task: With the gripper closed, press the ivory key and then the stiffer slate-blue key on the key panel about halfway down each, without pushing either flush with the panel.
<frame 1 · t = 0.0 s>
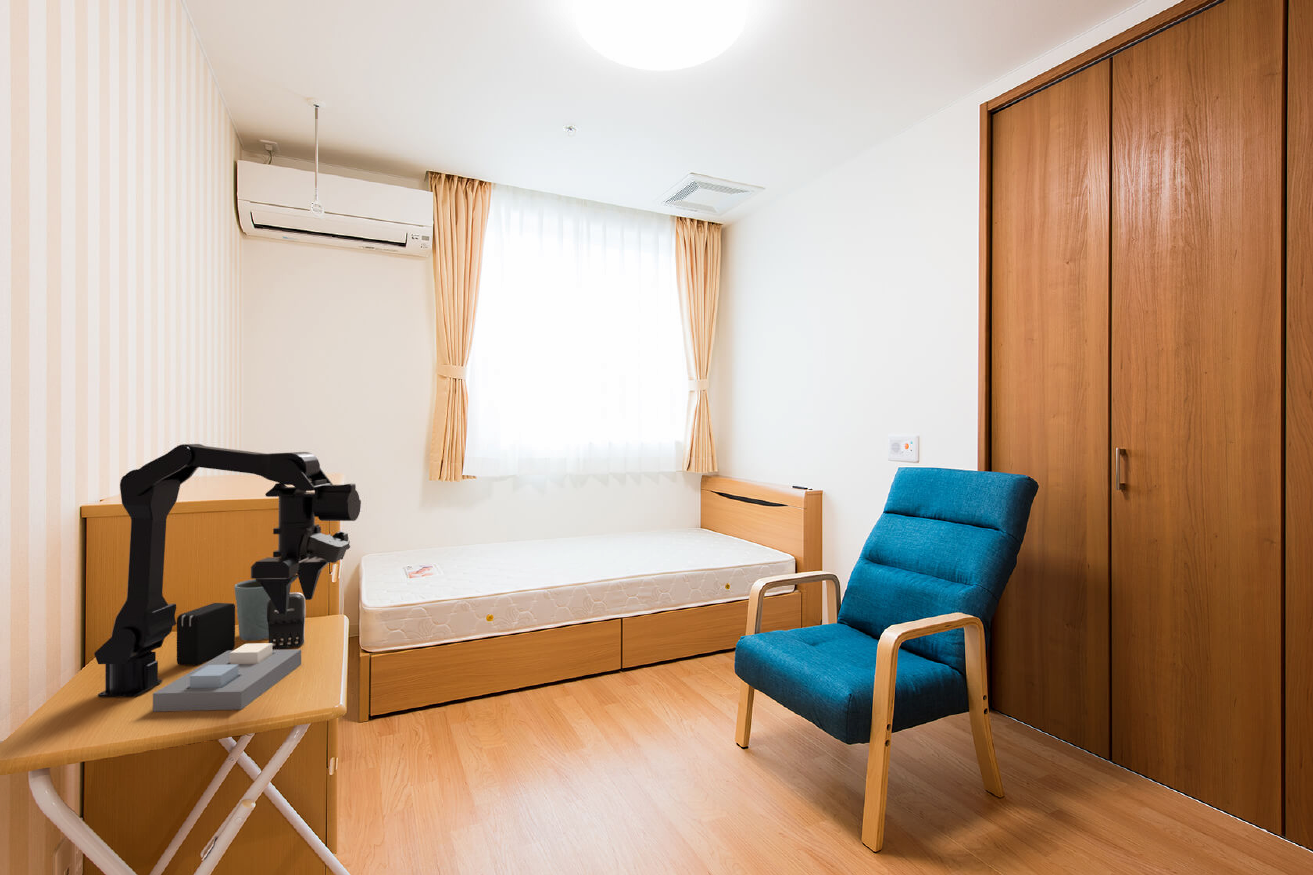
hand: (296, 606, 112), 15 cm above the table, tool pointing down, fingers open, 9 cm apart
battery charger: (285, 648, 132), on the table
electronic device: (206, 658, 126), on the table
key panel: (234, 685, 112), on the table
ivory key: (251, 653, 117), point 4 cm above the table, slide at 0.0 cm
slate key: (214, 676, 106), point 4 cm above the table, slide at 0.0 cm
teal cup: (260, 635, 140), on the table
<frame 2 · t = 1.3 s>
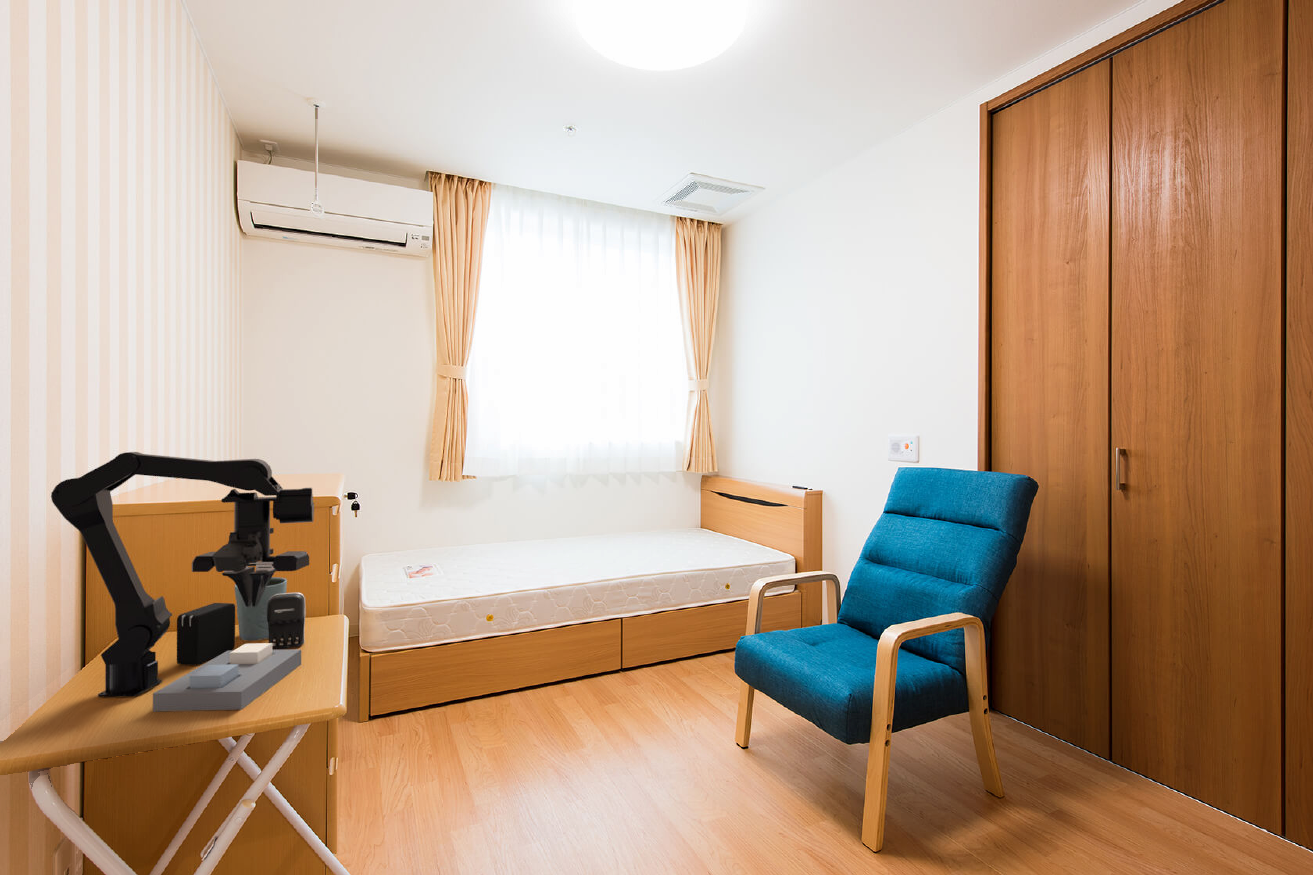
hand: (251, 606, 117), 13 cm above the table, tool pointing down, fingers closed
nothing on the table moved.
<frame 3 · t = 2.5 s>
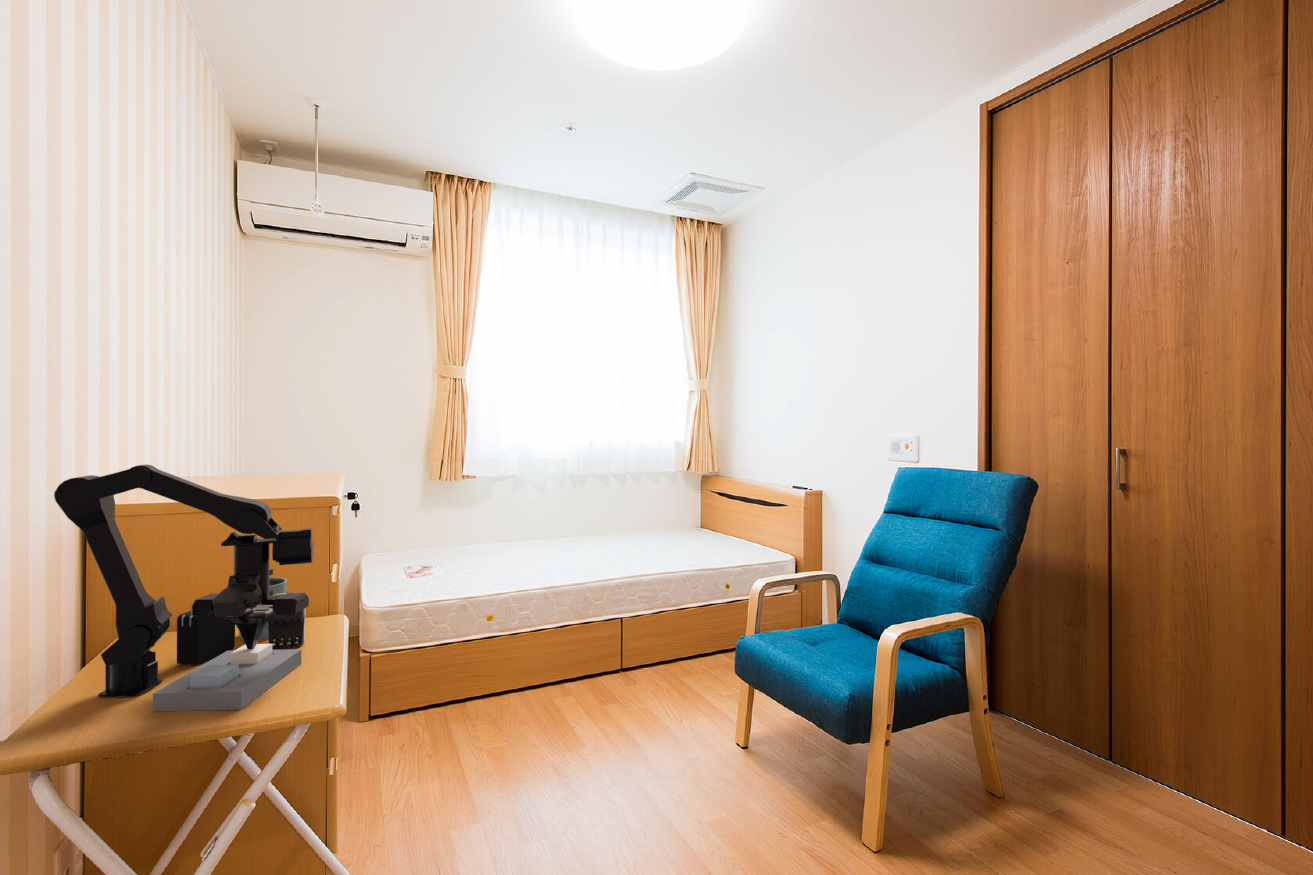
hand: (251, 648, 117), 5 cm above the table, tool pointing down, fingers closed, pressing on ivory key
ivory key: (251, 654, 117), point 4 cm above the table, slide at 0.1 cm, touching gripper
everything else where it was.
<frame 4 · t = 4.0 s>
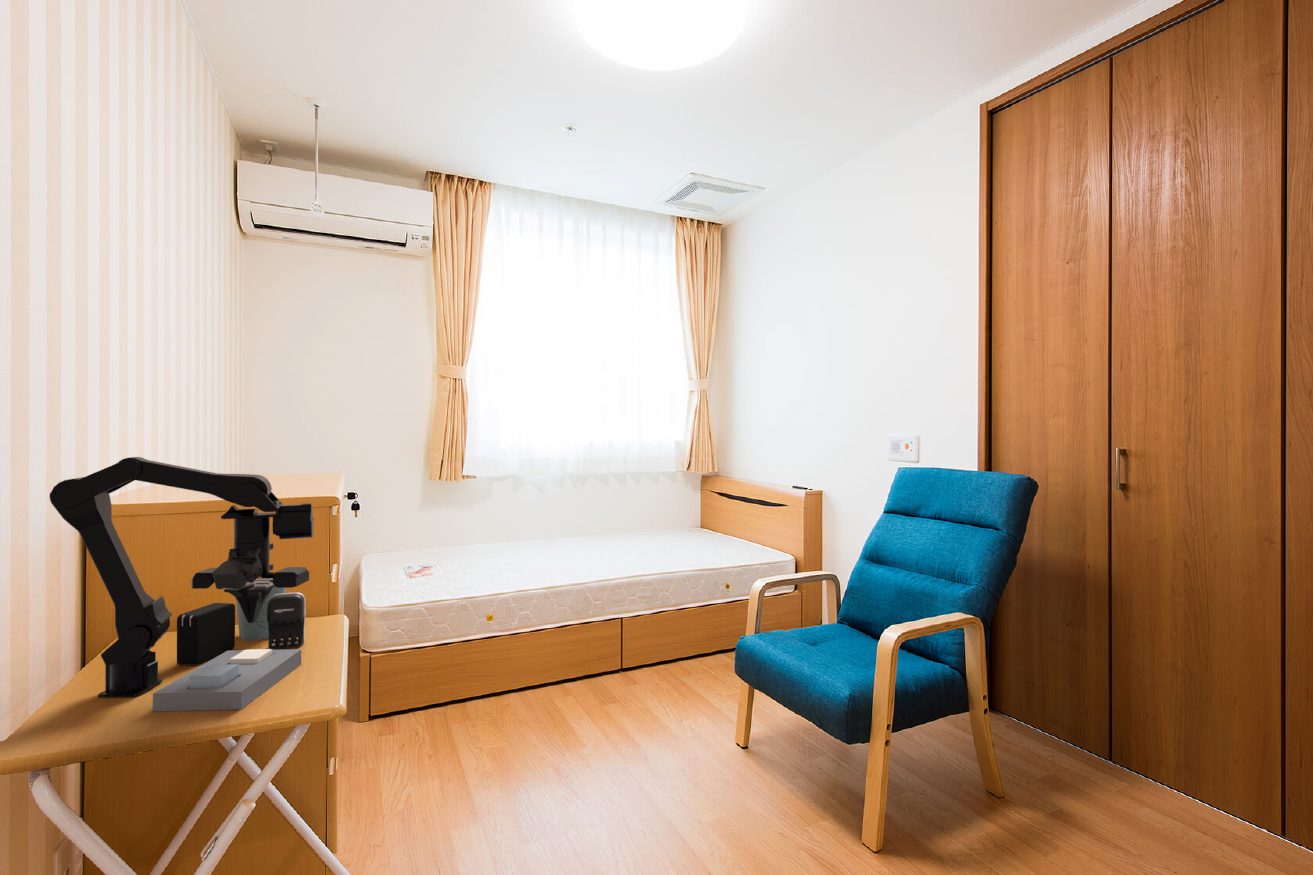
hand: (251, 622, 117), 10 cm above the table, tool pointing down, fingers closed
ivory key: (251, 660, 117), point 3 cm above the table, slide at 1.2 cm
everything else where it was.
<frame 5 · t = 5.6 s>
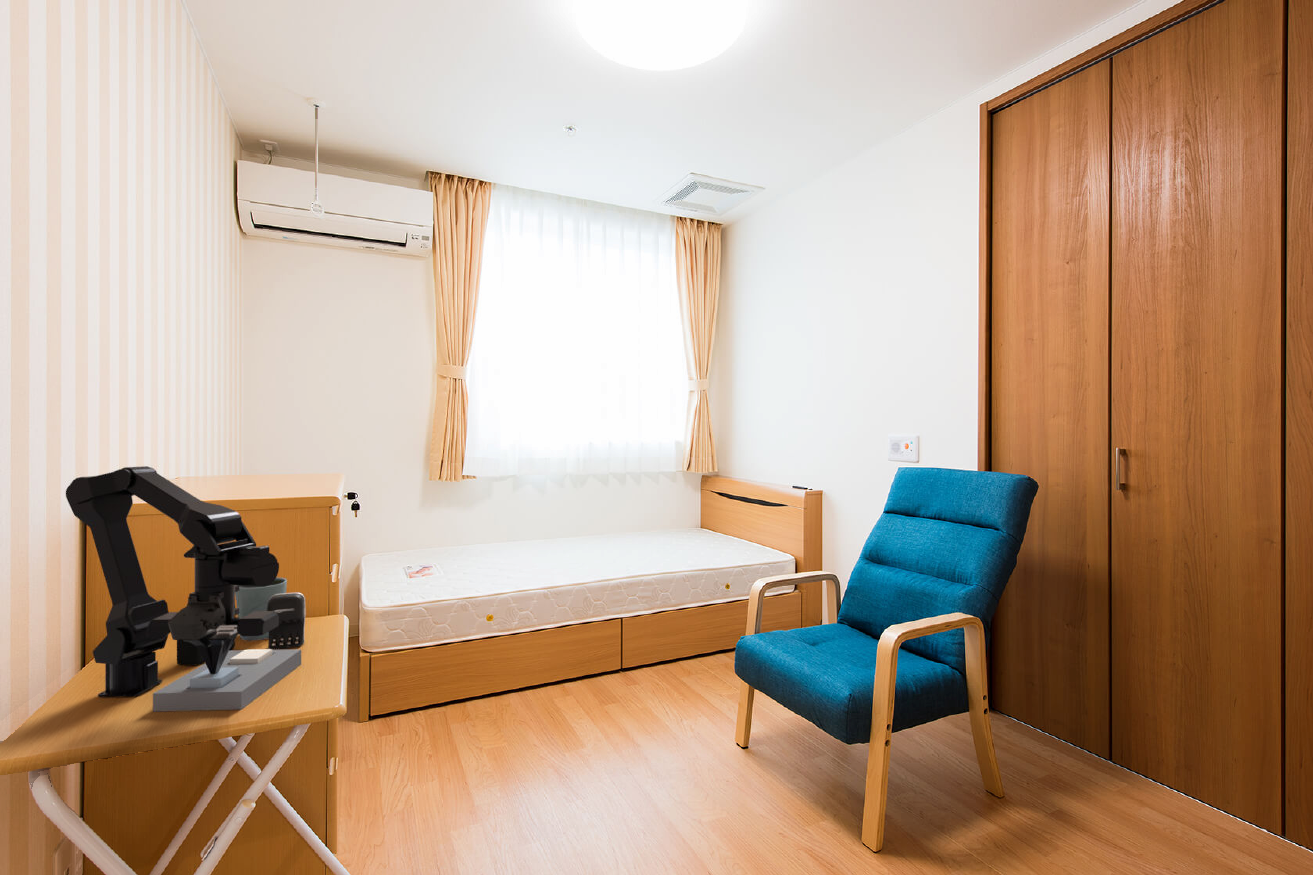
hand: (214, 672, 106), 4 cm above the table, tool pointing down, fingers closed, pressing on slate key
slate key: (214, 679, 106), point 3 cm above the table, slide at 0.5 cm, touching gripper
everything else where it was.
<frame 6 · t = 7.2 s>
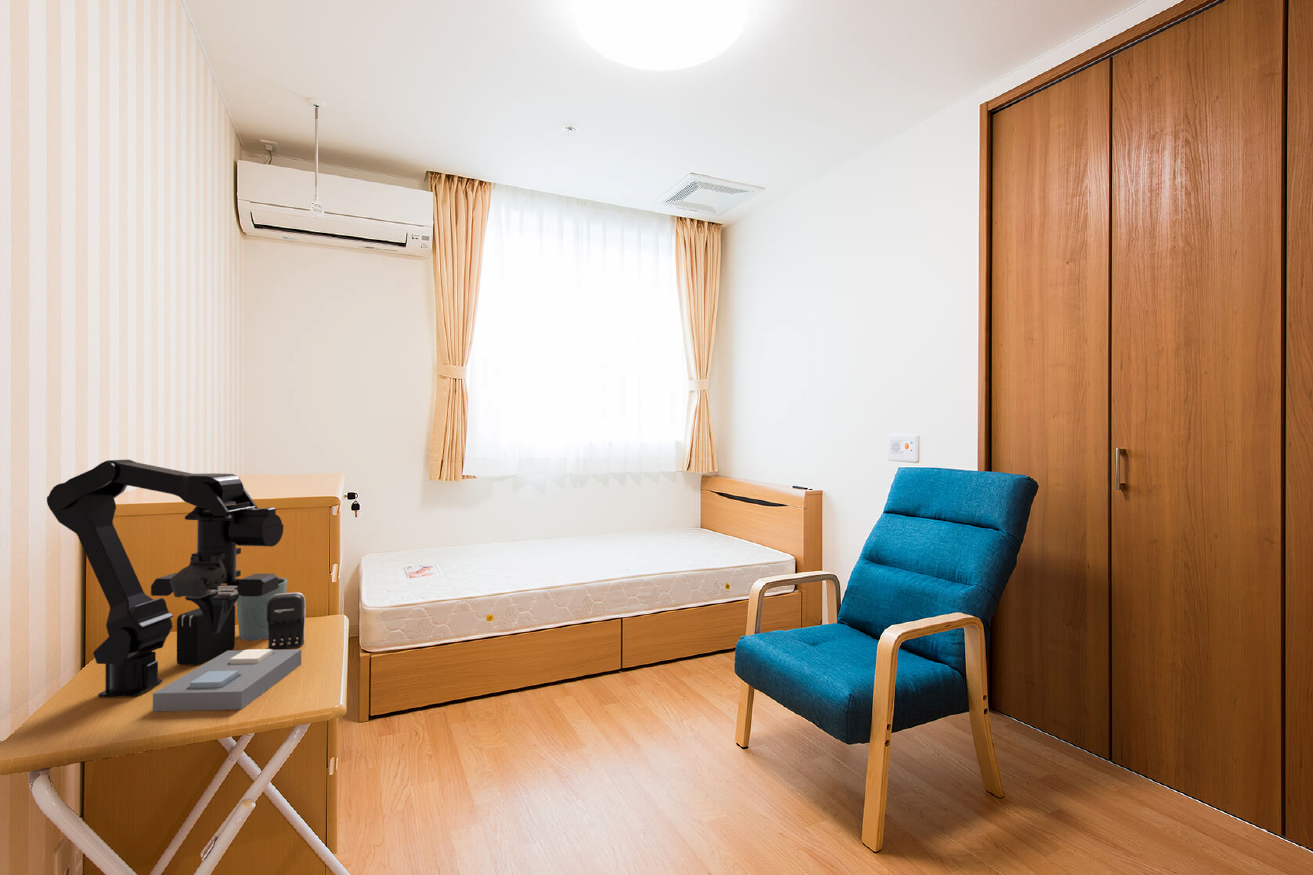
hand: (215, 632, 109), 11 cm above the table, tool pointing down, fingers closed
slate key: (214, 683, 106), point 3 cm above the table, slide at 1.1 cm
everything else where it was.
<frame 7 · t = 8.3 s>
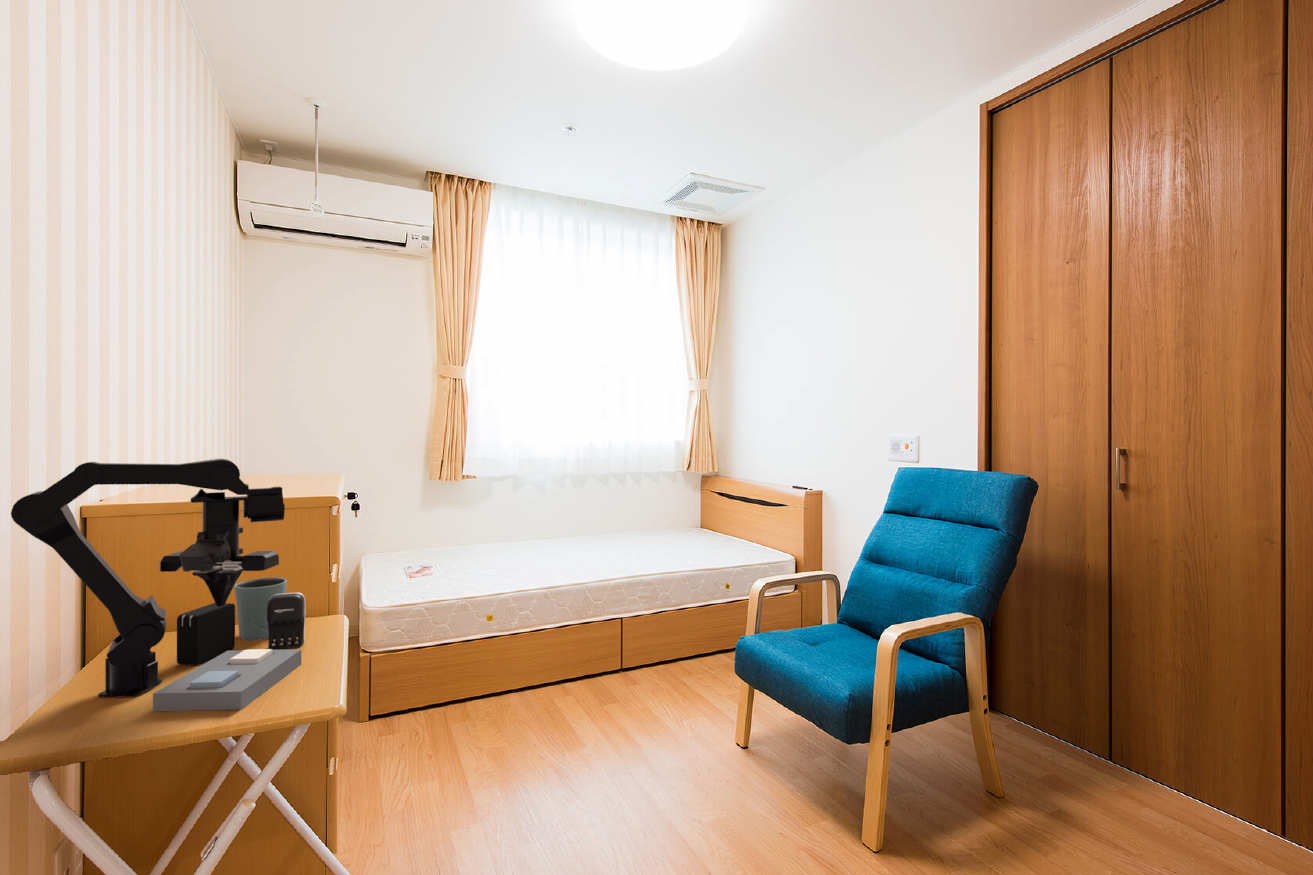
hand: (220, 605, 117), 13 cm above the table, tool pointing down, fingers closed
nothing on the table moved.
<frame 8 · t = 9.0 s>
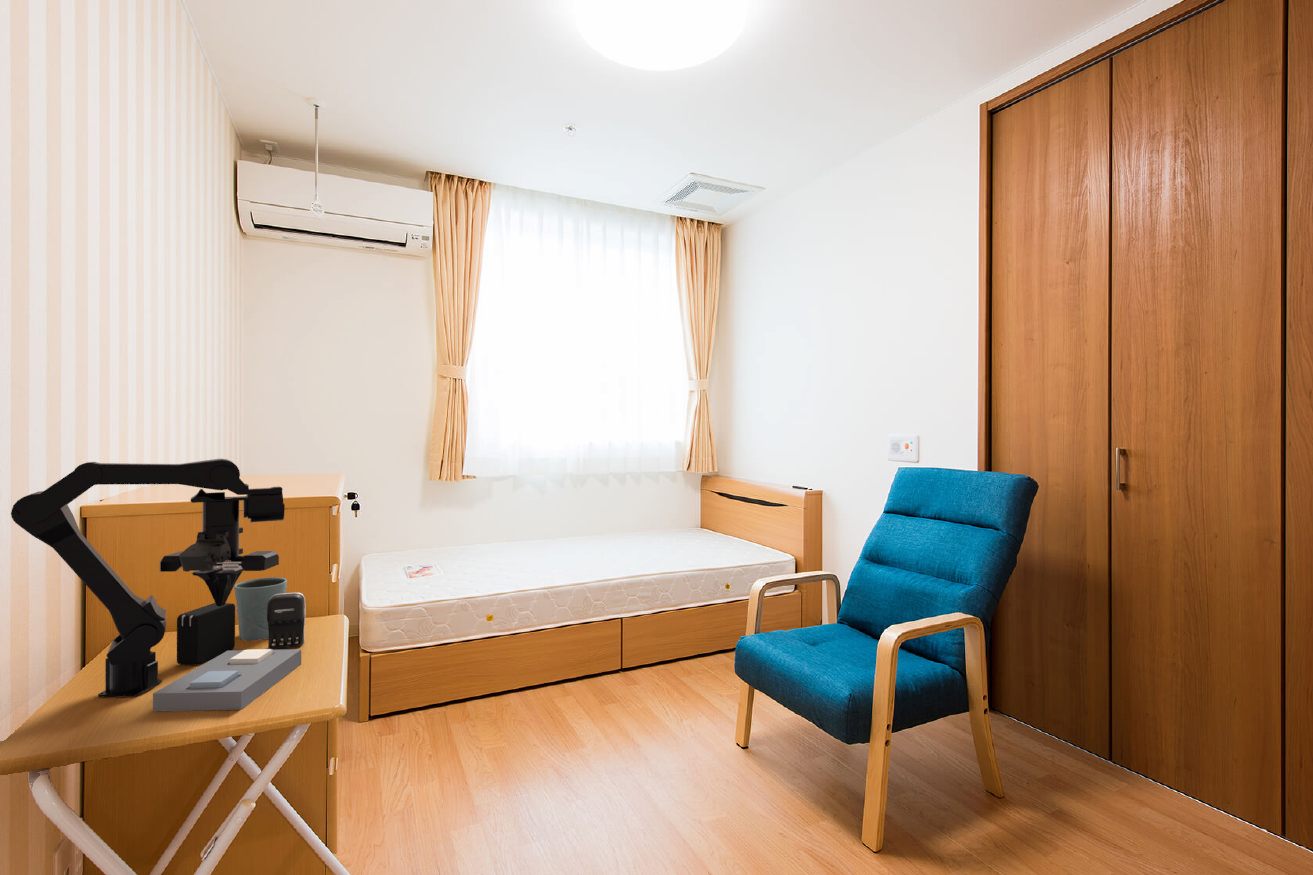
hand: (220, 605, 117), 13 cm above the table, tool pointing down, fingers closed
nothing on the table moved.
at the end: ivory key slide at 1.2 cm; slate key slide at 1.1 cm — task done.
